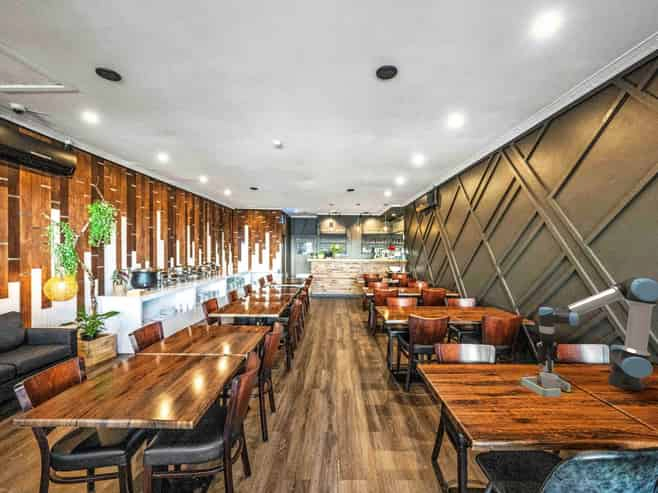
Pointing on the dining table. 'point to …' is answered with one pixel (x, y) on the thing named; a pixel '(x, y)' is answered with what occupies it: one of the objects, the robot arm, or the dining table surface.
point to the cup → (549, 381)
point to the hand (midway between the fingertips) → (548, 370)
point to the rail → (540, 378)
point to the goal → (531, 384)
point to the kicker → (564, 384)
